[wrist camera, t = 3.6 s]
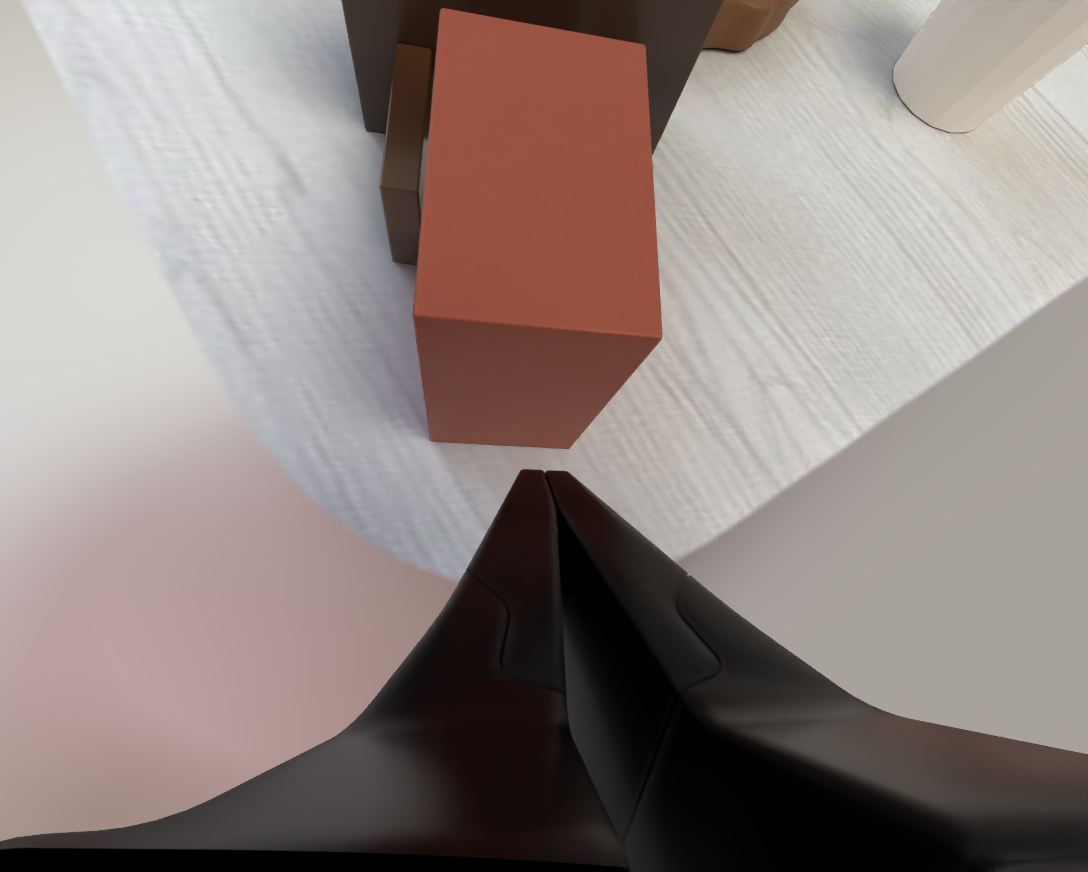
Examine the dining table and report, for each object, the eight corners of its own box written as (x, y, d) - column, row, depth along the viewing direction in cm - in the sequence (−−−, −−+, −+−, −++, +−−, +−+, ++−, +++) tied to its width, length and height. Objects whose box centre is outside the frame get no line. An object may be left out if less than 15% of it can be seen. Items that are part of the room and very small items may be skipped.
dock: (652, 289, 22) (781, 97, 13) (348, 258, 20) (271, 9, 11) (642, 100, 25) (743, -160, 16) (375, 56, 23) (329, -265, 14)
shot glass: (1018, 131, 28) (1190, -8, 22) (924, 153, 27) (1080, 10, 20) (952, 35, 30) (1095, -123, 23) (860, 49, 28) (986, -117, 22)
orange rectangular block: (569, 449, 19) (664, 338, 11) (430, 441, 18) (412, 316, 10) (569, 259, 21) (646, 43, 13) (444, 245, 21) (439, 5, 12)
